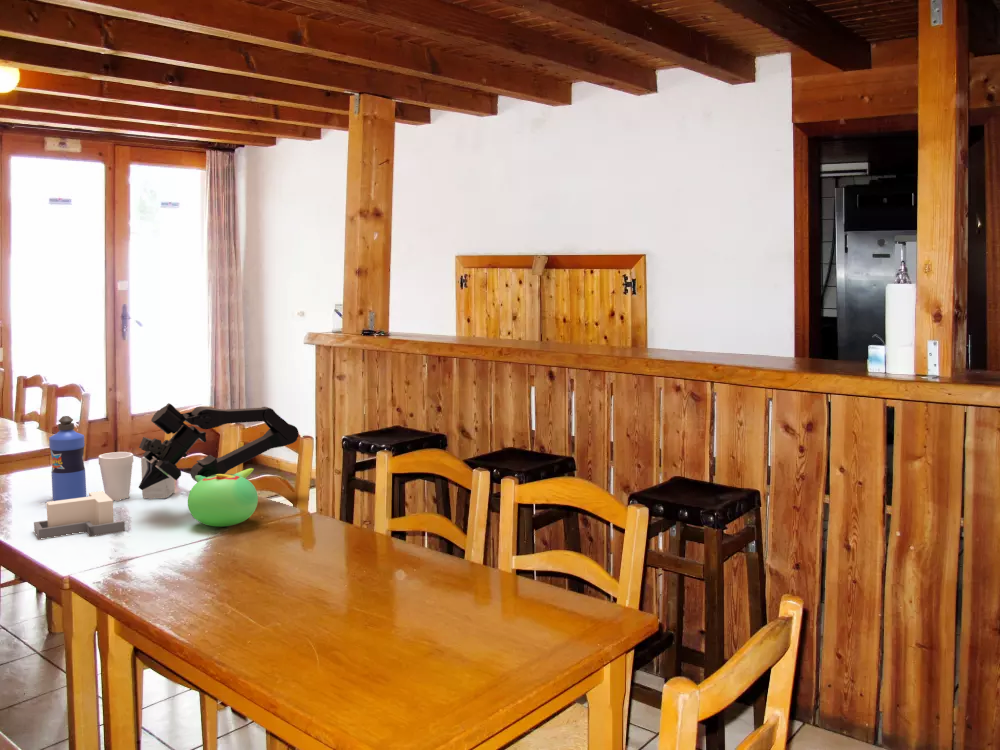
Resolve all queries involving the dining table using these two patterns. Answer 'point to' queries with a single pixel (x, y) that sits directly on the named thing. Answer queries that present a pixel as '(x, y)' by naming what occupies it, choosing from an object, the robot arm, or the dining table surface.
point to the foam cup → (116, 474)
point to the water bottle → (67, 462)
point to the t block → (81, 510)
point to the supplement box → (157, 485)
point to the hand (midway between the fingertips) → (140, 488)
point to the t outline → (77, 529)
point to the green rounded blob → (223, 499)
